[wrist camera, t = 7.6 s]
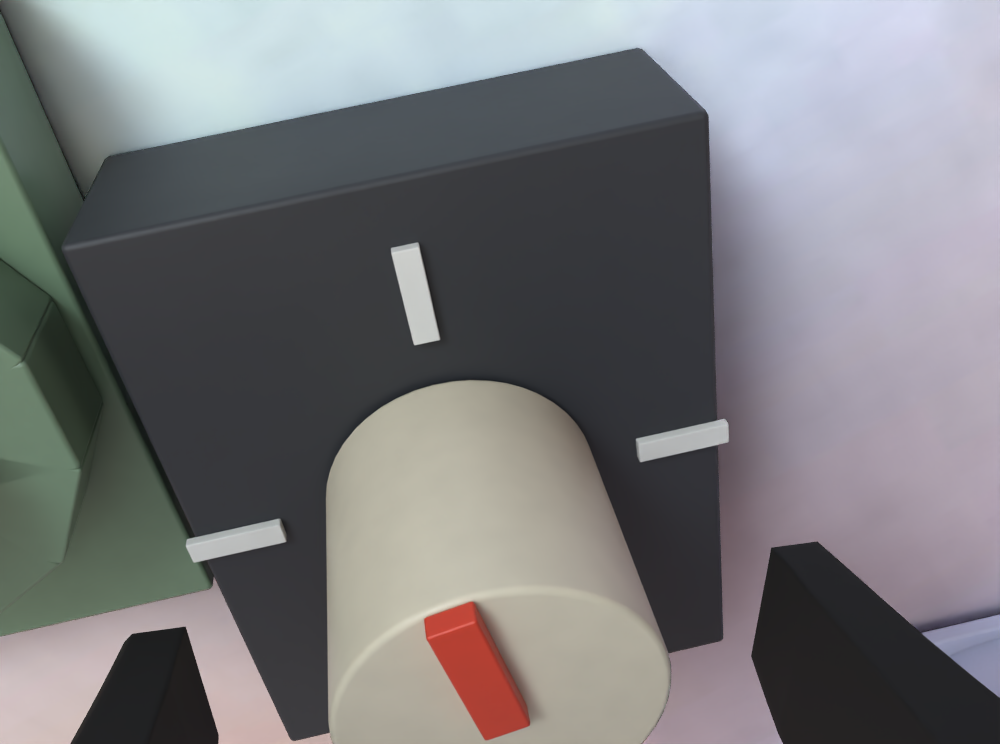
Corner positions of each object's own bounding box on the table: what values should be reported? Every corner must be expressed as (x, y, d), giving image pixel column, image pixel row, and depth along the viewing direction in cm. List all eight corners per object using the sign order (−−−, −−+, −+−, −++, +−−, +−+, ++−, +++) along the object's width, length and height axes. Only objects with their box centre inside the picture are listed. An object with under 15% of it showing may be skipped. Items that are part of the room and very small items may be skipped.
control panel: (678, 528, 20) (733, 648, 17) (289, 617, 19) (284, 753, 17) (648, 43, 14) (722, 114, 12) (96, 157, 14) (44, 255, 11)
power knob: (619, 533, 15) (710, 772, 12) (387, 615, 15) (407, 875, 12) (551, 338, 13) (638, 562, 9) (279, 436, 13) (264, 692, 10)
